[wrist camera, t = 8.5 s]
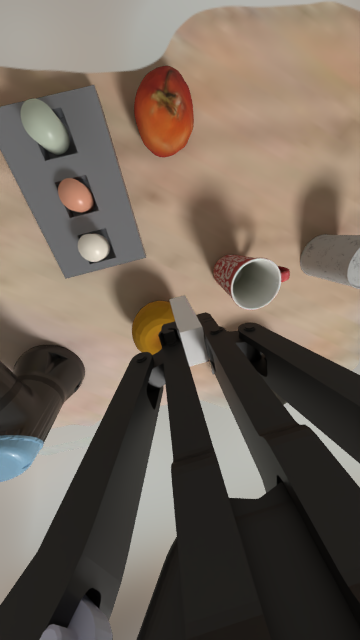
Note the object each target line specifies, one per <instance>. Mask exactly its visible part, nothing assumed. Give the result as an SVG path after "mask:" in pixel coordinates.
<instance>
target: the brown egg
mask: <svg viewBox="0 0 360 640" xmlns="http://www.w3.org/2000/svg"><path fill="white" fill-rule="evenodd" d="M58 195H59V198H60V200H61V202H62V203H63V204H64V205H65V206H66V207H67V208H68V209H70V210H73V211H76V212H80V213H88V212H90V211H92V209H93V208H94V205H95V199H94V195H93V193H92V192H91V190H90V189H89V188H88V187H86V186H85V185H83V184H82V183H81V182H79V181H78V180H76V179H73V178H66V179H64V180H62V181H61V182H60V184H59V187H58Z"/></svg>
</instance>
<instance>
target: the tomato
mask: <svg viewBox="0 0 360 640" xmlns="http://www.w3.org/2000/svg"><path fill="white" fill-rule="evenodd" d="M134 113H135V119H136V124H137V127H138V130H139V133H140V136H141V138H142V141H143V143H144V145H145V146H146V147H147V148H148V149H149V150H150V151H151V152H152V153H153V154H155V155H156V156H159V157H168V156H172V155H174V154H175V153H177V152H178V151H179V150H181V149H182V148H184V147H185V145H186V144H187V142H188V139H189V137H190V134H191V132H192V130H193V122H194V118H193V105H192V99H191V95H190V91H189V88H188V85H187V84H186V82H185V81H184V79H183V77H182V75H181V74H180V73H179V72H178V71H177V70H176V69H174V68H172V67H170V66H162V67H158V68H156V69H154V70H152V71H151V72H149V73H148V74H147V75H146V76H145V77H144V79H143V80H142V82H141V84H140V86H139V88H138V90H137V93H136V97H135V104H134Z"/></svg>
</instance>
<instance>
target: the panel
mask: <svg viewBox="0 0 360 640" xmlns="http://www.w3.org/2000/svg"><path fill="white" fill-rule="evenodd" d="M36 99H38V100H41V101H43V102H44V103H46V104H47V105H48V106H49V107H50V108H51V110H52V111H53V112H54V113H55V114H56V116H57V117H58V118H59V119H60V121H61V122H62V123H63V124H64V126H65V127H66V129H67V131H68V134H69V138H70V144H69V148H68V150H67V151H66V152H65V153H63V154H60V155H57V154H53V153H51V152H49V151H48V150H46V149H45V148H44V147H43V146H41V145H40V144H39V143H38V142H36V141H35V140H34V139H33V138H32V137H31V136H30V135H29V134H28V133H27V132H26V130H25V128H24V126H23V124H22V121H21V107H22V105H23V103H24V102H25V101H23V102H18V103H14V104H10V105H5V106H1V107H0V150H1V152H2V154H3V156H4V158H5V160H6V162H7V164H8V165H9V167H10V169H11V171H12V173H13V175H14V177H15V179H16V181H17V183H18V185H19V187H20V189H21V191H22V193H23V195H24V197H25V199H26V201H27V203H28V205H29V207H30V209H31V211H32V213H33V215H34V217H35V219H36V221H37V223H38V225H39V227H40V229H41V231H42V233H43V235H44V237H45V239H46V241H47V243H48V245H49V247H50V249H51V251H52V253H53V255H54V257H55V259H56V261H57V263H58V265H59V267H60V269H61V271H62V272H63V274H64V276H65V278H70V277H74V276H78V275H82V274H85V273H89V272H93V271H97V270H101V269H105V268H108V267H112V266H116V265H120V264H124V263H128V262H131V261H135V260H139V259H143V258H146V254H145V251H144V247H143V244H142V240H141V237H140V234H139V230H138V227H137V224H136V220H135V217H134V213H133V210H132V207H131V203H130V200H129V197H128V193H127V190H126V186H125V183H124V180H123V176H122V173H121V170H120V166H119V163H118V160H117V156H116V153H115V149H114V146H113V143H112V139H111V136H110V133H109V129H108V126H107V122H106V119H105V116H104V112H103V109H102V106H101V102H100V99H99V97H98V94H97V91H96V89H95V86H94V85H92V86H87V87H83V88H79V89H74V90H70V91H66V92H61V93H57V94H53V95H49V96H44V97H40V98H36ZM66 178H73V179H76V180H78V181H79V182H81V183H82V184H83V185H85V186H86V187H88V188H89V189H90V190H91V192H92V193H93V195H94V199H95V205H94V208H93V209H92V211H90V212H88V213H80V212H76V211H73V210H70V209H68V208H67V207H66V206H65V205H64V204H63V203H62V202H61V200H60V198H59V195H58V187H59V184H60V182H61V181H62V180H64V179H66ZM85 234H100V235H102V236H104V237H105V238H106V239H107V240H108V242H109V245H110V252H109V254H108V256H107V257H105V258H103V259H102V260H100V261H97V262H91V261H88V260H86V259H85V258H83V257H82V256H81V254H80V252H79V250H78V241H79V239H80V238H81V237H82V236H83V235H85Z"/></svg>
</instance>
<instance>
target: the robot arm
mask: <svg viewBox="0 0 360 640" xmlns="http://www.w3.org/2000/svg"><path fill="white" fill-rule="evenodd" d="M169 300H170V304H171V307H172V311H173V315H174V318H175V321H174V322H170V323H167V324H163V326H162V328H161V331H160V332H159V334H158V336H159V339H160V342H161V346H162V349H161V350H160V351H159V352H157V353H155V354H153V355H152V354H151V353H149V352H142V353H139V354H137V355H135V356H134V357H133V358H132V360H131V361H130V363H129V365H128V368H127V370H126V372H125V374H124V376H123V378H122V380H121V382H120V384H119V386H118V388H117V390H116V392H115V394H114V396H113V398H112V400H111V402H110V404H109V406H108V408H107V411H106V413H105V415H104V417H103V419H102V421H101V423H100V425H99V427H98V429H97V431H96V433H95V435H94V437H93V439H92V441H91V443H90V445H89V447H88V450H87V452H86V454H85V456H84V458H83V460H82V462H81V464H80V466H79V468H78V470H77V472H76V474H75V476H74V478H73V480H72V482H71V484H70V487H69V489H68V490H67V493H66V495H65V497H64V499H63V501H62V503H61V505H60V507H59V509H58V511H57V513H56V515H55V517H54V519H53V521H52V523H51V525H50V527H49V529H48V531H47V533H46V536H45V538H44V540H43V542H42V544H41V546H40V548H39V550H38V552H37V553H36V555H35V556H34V558H33V559H32V561H31V562H30V563H29V565H28V566H27V568H26V569H25V571H24V572H23V574H22V575H21V576H20V578H19V579H18V581H17V582H16V584H15V585H14V586H13V588H12V589H11V591H10V592H9V594H8V595H7V597H6V598H5V599H4V601H3V602H2V604H1V605H0V640H113V635H112V630H111V626H110V623H109V618H110V616H111V613H112V610H113V607H114V604H115V600H116V597H117V594H118V591H119V588H120V584H121V581H122V577H123V573H124V569H125V564H126V560H127V556H128V552H129V548H130V543H131V538H132V533H133V529H134V524H135V519H136V515H137V510H138V505H139V501H140V496H141V492H142V487H143V482H144V477H145V473H146V468H147V463H148V459H149V454H150V449H151V444H152V440H153V435H154V431H155V426H156V421H157V417H158V412H159V407H160V403H161V398H162V393H163V385H165V384H166V392H167V402H168V411H169V421H170V431H171V440H172V450H173V463H172V465H171V473H172V487H173V498H174V509H175V520H176V531H177V537H176V539H175V541H174V542H173V544H172V546H171V548H170V550H169V552H168V554H167V556H166V560H165V562H164V564H163V567H162V570H161V573H160V576H159V578H158V581H157V584H156V587H155V590H154V592H153V596H152V598H151V601H150V604H149V606H148V609H147V612H146V615H145V618H144V620H143V623H142V626H141V629H140V632H139V634H138V637H137V640H360V487H359V486H358V485H357V484H356V483H355V481H354V480H353V479H352V478H351V476H350V475H349V474H348V473H347V472H346V470H345V469H344V468H343V467H342V466H341V464H340V463H339V462H338V461H337V459H336V458H335V457H334V456H333V455H332V453H331V452H330V451H329V450H328V449H327V447H326V446H325V445H324V443H323V442H322V441H321V440H320V439H319V437H318V436H317V435H316V434H315V433H314V432H313V431H312V430H311V429H310V428H309V427H308V426H306V425H299V424H298V423H297V422H296V421H295V420H294V419H293V417H292V416H291V415H290V414H289V412H288V411H287V410H286V408H285V407H284V406H283V404H282V403H281V402H280V400H279V399H278V398H277V396H276V395H275V394H274V393H273V391H274V392H275V393H277V394H278V395H279V396H280V397H281V398H283V399H284V400H285V401H286V402H287V403H289V404H290V405H291V406H292V407H293V408H295V409H296V410H297V411H298V412H299V413H300V414H302V415H303V416H304V417H305V418H306V419H308V420H309V421H310V422H311V423H312V424H314V425H315V426H316V427H317V428H318V429H320V430H321V431H322V432H323V433H324V434H325V435H327V436H328V437H329V438H330V439H331V440H333V441H334V442H335V443H336V444H337V445H339V446H340V447H341V448H342V449H343V450H345V451H346V452H347V453H348V454H349V455H350V456H352V457H353V458H354V459H355V460H356V461H358V462H359V463H360V375H358V374H356V373H354V372H352V371H350V370H348V369H346V368H344V367H342V366H340V365H338V364H336V363H334V362H332V361H330V360H328V359H326V358H324V357H322V356H320V355H318V354H316V353H314V352H312V351H310V350H308V349H306V348H304V347H302V346H300V345H298V344H296V343H294V342H292V341H290V340H288V339H286V338H284V337H282V336H280V335H278V334H276V333H274V332H272V331H270V330H268V329H266V328H264V327H262V326H260V325H258V324H256V323H245V324H242V325H240V326H239V327H238V331H233V332H229V331H226V330H225V329H224V328H223V327H220V326H218V325H217V323H216V322H215V320H214V319H213V318H212V316H211V315H210V314H208V313H206V312H205V313H202V314H198V315H196V314H195V313H194V311H193V309H192V307H191V305H190V303H189V302H188V300H187V298H186V296H185V295H184V296H180V297H176V298H172V299H169ZM262 353H263V354H264V355H263V354H262ZM208 356H209V357H208ZM209 359H210V362H211V367H212V373H213V374H214V373H215V375H216V378H217V380H218V382H219V384H220V386H221V389H222V391H223V393H224V395H225V398H226V400H227V402H228V404H229V406H230V409H231V411H232V413H233V415H234V417H235V420H236V422H237V424H238V426H239V429H240V430H241V433H242V435H243V437H244V439H245V442H246V444H247V446H248V448H249V451H250V453H251V455H252V457H253V459H254V462H255V464H256V466H257V468H258V471H259V473H260V475H261V478H262V480H263V483H264V487H265V490H266V494H265V495H263V496H262V497H261V498H259V499H241V498H229V497H228V494H227V491H226V487H225V484H224V480H223V477H222V474H221V470H220V467H219V464H218V461H217V457H216V454H215V452H214V448H213V445H212V441H211V438H210V435H209V431H208V428H207V425H206V421H205V418H204V414H203V411H202V408H201V404H200V401H199V397H198V394H197V391H196V387H195V384H194V380H193V377H192V374H191V370H190V366H193V365H197V364H200V363H204V362H208V361H209ZM84 376H85V368H84V365H83V363H82V361H81V360H80V359H79V357H78V356H76V355H75V354H74V353H73V352H71V351H69V350H67V349H65V348H62V347H59V346H54V345H41V346H37V347H34V348H31V349H29V350H28V351H26V352H25V353H24V354H23V355H22V356H21V357H20V358H19V359H18V361H17V362H16V364H15V366H14V370H13V372H11V371H10V370H9V369H8V368H7V367H6V366H5V365H4V364H3V363H2V362H1V361H0V482H3V481H6V480H9V479H12V478H14V477H17V476H18V475H20V474H21V473H23V472H24V471H25V470H27V469H28V468H29V466H30V465H31V464H32V462H33V460H34V459H35V457H36V455H37V454H38V452H39V450H40V449H41V448H42V447H43V444H44V441H45V439H46V437H47V435H48V433H49V431H50V429H51V427H52V425H53V423H54V421H55V419H56V417H57V415H58V413H59V411H60V409H61V407H62V405H63V403H64V402H65V401H66V400H67V399H68V398H69V397H70V396H71V395H72V394H73V393H74V392H76V391H77V390H78V388H79V387H80V385H81V384H82V381H83V379H84ZM270 388H271V389H272V390H273V391H272V390H271V389H270Z"/></svg>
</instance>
